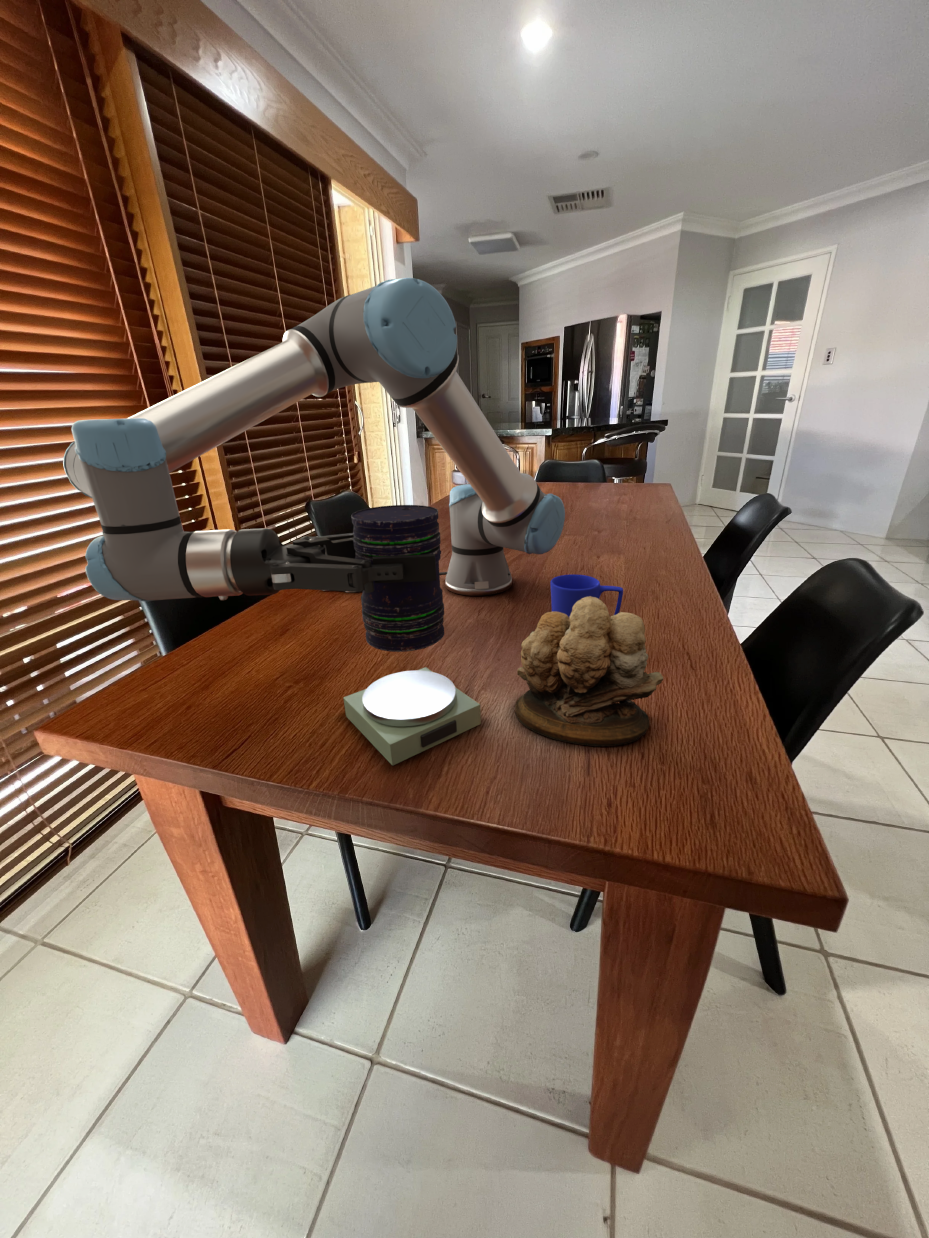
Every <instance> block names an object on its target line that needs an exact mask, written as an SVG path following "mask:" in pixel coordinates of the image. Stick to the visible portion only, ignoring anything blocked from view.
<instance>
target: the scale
mask: <svg viewBox="0 0 929 1238" xmlns="http://www.w3.org/2000/svg"><path fill="white" fill-rule="evenodd" d="M418 670H421V671H430V672H433V671H432V670H431V669H429V668H428V667H427V666H425V667H422V668H419V669H418ZM455 688H456V702H455V704H454V706H453V707H452V709H451V710H450V711H449V712H447V713H446V714H445V715H443V716H442V717H440V718H438V719H436V720H434V721H431V722H428V723H425V724H421V725H416V726H405V727H401V726H390V725H385V724H381V723H379V722H376V721H374V720H373V719H371V718H370V717H369V716H368V715H367V714H366V713H365V711H364V708H363V701H362V698H363V694H364V692H365V690H366V689H367V688H365V689H362V690H359V691H357V692H354V693H352V694H348V695H346V696H344V697H343V698H342V699H343V705H344V712H345V717H346V718H347V719H348V720H349V721H350V722H351V724H352V725H354V726H355V728H356V729H357V730H358V731H359V732H360V733H361V735H363V736H364V737H365V738H366V739H367V741H368V742H370V744H371V745H372V746H373V747H374V748H375V749H376V750H377V751H378V752H379V753H380V755H382V756H383V757H384V758H385V760H386V761H387V762H388V763H389V764H390V765H391V766H395V765H398V764H400V763H402V762H403V761H406V760H408V759H410V758H412V757H414V756H416V755H418V754H421V753H422V752H425V751H427V750H429V749H431V748H433V747H436V746H437V745H440V744H441V743H443V742H446V741H448V740H450V739H452V738H455V737H456V736H458V735H461V734H463V733H464V732H467V731H469V730H471V729H473V728H475V727H478V726H479V725H482V722H481V721H482V720H481V718H482V717H481V703H479V702H477V701H476V700H475V699H473V698H472V697H470V696H468V695H467V694H466V693H464V692H463V691H461V690H460V689H459V688H457V687H455Z"/></svg>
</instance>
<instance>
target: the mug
mask: <svg viewBox="0 0 929 1238" xmlns="http://www.w3.org/2000/svg"><path fill="white" fill-rule="evenodd" d="M604 592H617V593H618V595H617V600H616V601H617V602H616V605H615V606H616V607H615V610H614V612H613V613H614V614H613V615H616V614H618V613H620V612H621V608H622V601H623V596H624V588H623V587H621V586H615V585H601V581H600V580H598V579H597V578H595V577H593V576H589V575H584V574H562V575H558V576H554V577H552V579H551V580H550V599H551V600H550V601H551V602H550V603H551V612H552V611H555V612H556V611H557V612H561V613H564V614H566V615H567V616H568V617H569V616H570V615H571V612H572V607H573V605H574V604H575V603H576V602H577V601H579V600H581V599H582V598H585V597H589V596H591V597H596V598H598V599H599V600H600V598H601V595H602V594H603V593H604ZM569 619H570V618H569Z"/></svg>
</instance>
